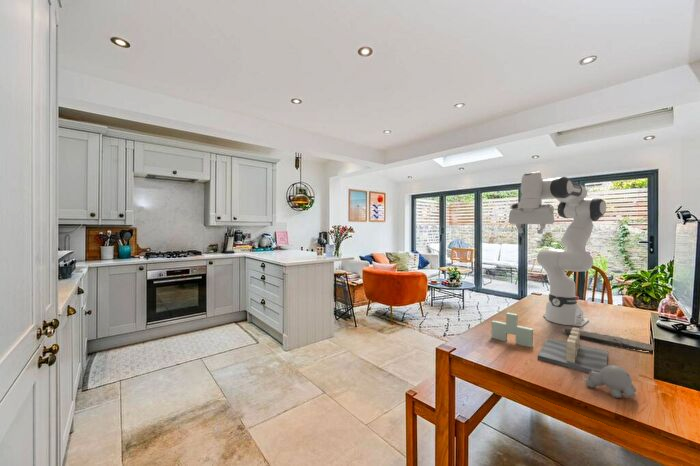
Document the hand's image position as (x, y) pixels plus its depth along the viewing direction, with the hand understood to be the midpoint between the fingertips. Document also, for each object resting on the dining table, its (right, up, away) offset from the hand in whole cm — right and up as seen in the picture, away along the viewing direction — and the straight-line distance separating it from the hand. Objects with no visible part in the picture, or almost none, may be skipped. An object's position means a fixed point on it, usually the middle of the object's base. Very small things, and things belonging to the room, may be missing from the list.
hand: (530, 233), depth 143 cm
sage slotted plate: (-16, -48, -13) cm, 53 cm away
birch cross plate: (0, -49, -28) cm, 56 cm away
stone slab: (+27, -49, -11) cm, 57 cm away
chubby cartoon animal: (-8, -50, -52) cm, 72 cm away
